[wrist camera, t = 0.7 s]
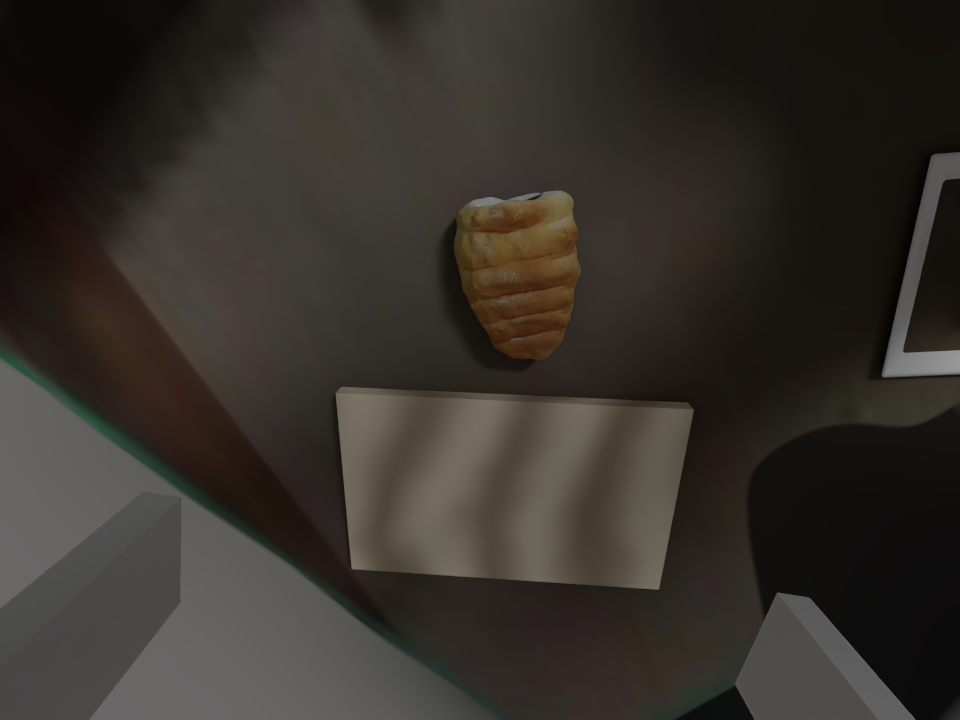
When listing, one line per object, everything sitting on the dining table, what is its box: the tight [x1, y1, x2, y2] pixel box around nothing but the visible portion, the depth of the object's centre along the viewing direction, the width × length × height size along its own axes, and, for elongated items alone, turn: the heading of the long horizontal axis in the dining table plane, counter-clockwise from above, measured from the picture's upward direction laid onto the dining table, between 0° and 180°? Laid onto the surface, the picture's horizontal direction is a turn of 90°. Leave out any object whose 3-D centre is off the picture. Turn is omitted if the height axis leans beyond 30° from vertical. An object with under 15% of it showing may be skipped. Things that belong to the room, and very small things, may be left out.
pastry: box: [454, 190, 581, 360], centre depth 26 cm, size 9×7×4 cm
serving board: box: [336, 387, 694, 590], centre depth 31 cm, size 22×14×1 cm, turn 89°
